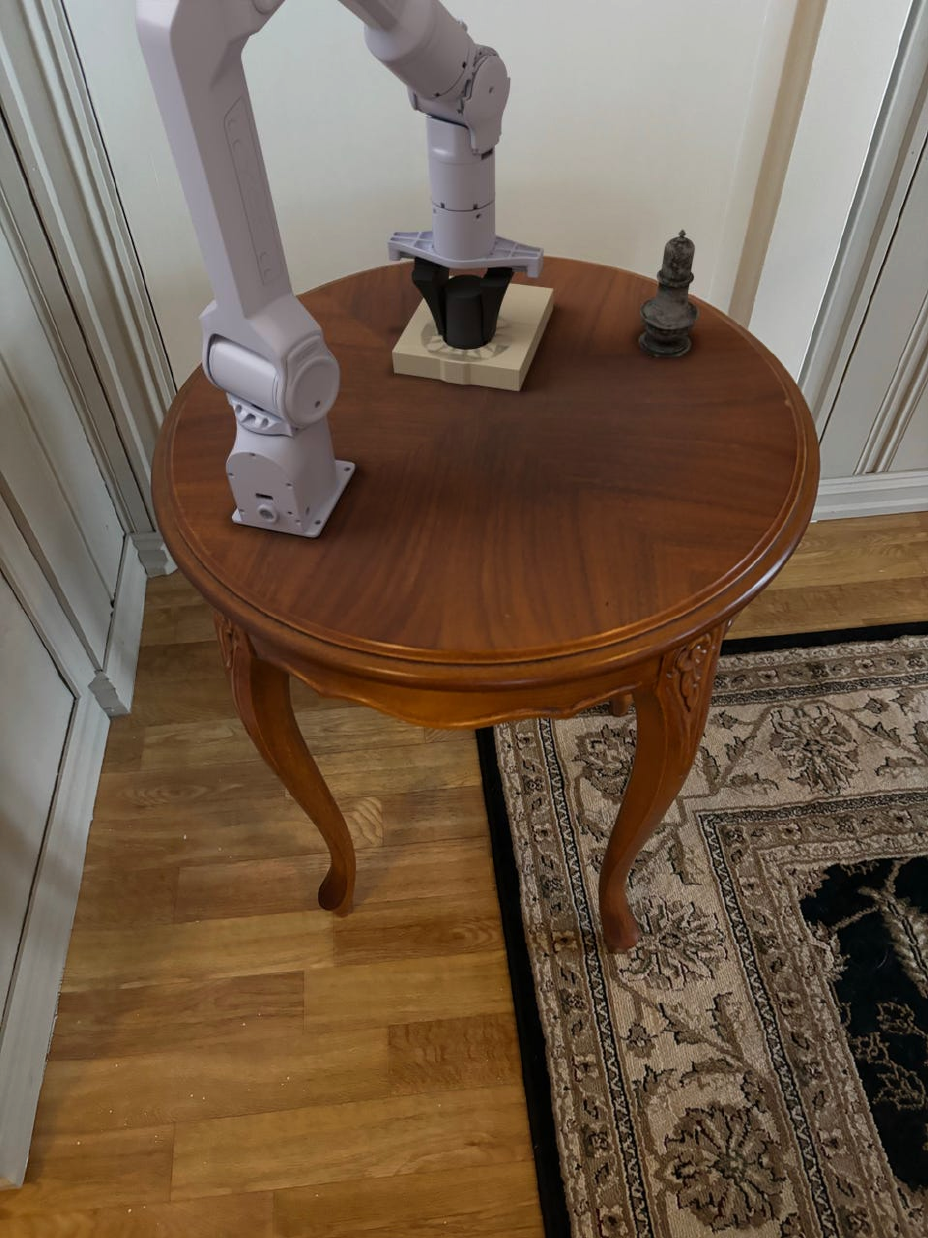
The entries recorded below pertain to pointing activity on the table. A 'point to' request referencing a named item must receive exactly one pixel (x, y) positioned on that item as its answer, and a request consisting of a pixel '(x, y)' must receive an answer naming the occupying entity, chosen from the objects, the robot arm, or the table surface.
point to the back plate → (488, 364)
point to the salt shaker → (671, 303)
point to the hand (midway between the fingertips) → (467, 332)
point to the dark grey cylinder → (464, 312)
